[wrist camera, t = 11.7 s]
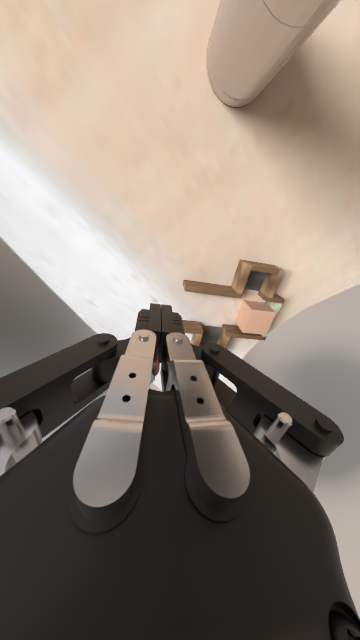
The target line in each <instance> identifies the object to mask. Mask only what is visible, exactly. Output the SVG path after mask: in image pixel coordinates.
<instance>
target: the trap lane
mask: <svg viewBox="0 0 360 640" xmlns="http://www.w3.org/2000/svg"><path fill="white" fill-rule="evenodd" d="M284 271H285V270H283V269H281V268H279V267H277V266H274V265H269V264H263V263H257V262H251V261H245V260H240V261H239V264H238V267H237V270H236V273H235V276H234V280H233V283H232V286H224V285H217V284H210V283H203V282H195V281H188V280H184V281H183V286H184V289H185V291H188V292H196V293H204V294H211V295H219V296H227V297H235V298H241V295H242V293H243V290H244V289H251V290H258V291H259V293H258V295H259V296H260V297H261V298H263V299H264V300H265V301H266V304H268V305H269V306H270V307H271V308H272V309H273V310H274V311H276V312H277V313H276V315H275V317H274V319H273V321H272V323H271V325H270V328H271V326H272V324H273V322H274V320H275V318H276V316H277V314H278V312H279V310H280V308H281V306H282V304H283V302H284V299H283V298H282V297H280V296H279V295H277V294H276V293H275V291H276V288H277V286H278V284H279V282H280V279H281V277H282V275H283V273H284ZM182 323H183V328H184V332H185V333H191V334H193V336H192V340H191V344H193V345H196V346H199V347H202V348H203V346H204V344H206V343H216V344H219V345H221V346H222V347H224V348H225V349H226V348H227V345H228V343H229V340H230V337H235V338H246V339H257V340H265V339H266V337H267V334H268V332H269V330H270V328H269V330H268V332H267V334H266V335H264V334H253V333H243V332H242V331H241V330H240V328H239V327H238V326H235V325H225V324H223V325H222V328H221V327H211V326H201V323H200V322H196V321H186V320H182Z"/></svg>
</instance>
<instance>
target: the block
mask: <svg viewBox="0 0 360 640" xmlns="http://www.w3.org/2000/svg"><path fill="white" fill-rule="evenodd" d="M276 313H277V312H276V311H274V310H273V309H272V308H271V307H270V306H269V305H268V304H266V303H262V302H254V301H246V300H243V302H242V304H241V307H240V310H239V313H238V315H237V318H236V321H235V322H236V324H237V325H238V327H239V328H240V330H241V331H242V332H243V333H253V334H264V335H266V334H267V332H268V330H269V328H270V325H271V323H272V321H273V319H274V317H275V315H276Z"/></svg>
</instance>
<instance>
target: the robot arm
mask: <svg viewBox="0 0 360 640" xmlns="http://www.w3.org/2000/svg"><path fill="white" fill-rule="evenodd" d="M340 1H341V0H221V2H220V5H219V8H218V12H217V15H216V18H215V22H214V25H213V29H212V32H211V36H210V39H209V45H208V51H207V67H208V75H209V79H210V83H211V85H212V88H213V90H214V92H215V94H216V95H217V96H218V98H219V99H220V100H221V101H222V102H223V103H225V104H227V105H229V106H232V107H241V106H244V105H247V104H249V103H250V102H251V101H253V100H254V99H255V98H256V97H257V96H258V95H259V94H260V92H261V91H262V90H263V89H264V88H265V87H266V86H267V85H268V83H269V82H270V81H271V80H272V79H273V78H274V77H275V76H276V74H277V73H278V72H279V71H280V70H281V69H282V68H283V66H284V65H285V64H286V63H287V62H288V61H289V59H290V58H291V57H292V56H293V55H294V54H295V53H296V51H297V50H298V49H299V48H300V47H301V46H302V45H303V43H304V42H305V41H306V40H307V39H308V38H309V36H310V35H311V34H312V33H313V32H314V31H315V30H316V28H317V27H318V26H319V25H320V24H321V23H322V22H323V20H324V19H325V18H326V17H327V16H328V15H329V13H330V12H331V11H332V10H333V9H334V8H335V7H336V5H337V4H338V3H339V2H340ZM157 355H158V363H161V372H160V374H161V383H162V392H160V391H156V390H152V389H149V387H150V381H151V374H152V369H153V367H154V362H157ZM90 368H91V370H90V371H88V372H87V373H85V374H83V375H82V376H80V377H78V378H77V379H75V377H77V376H78V375H80V374H82V373H83V372H85V371H87V370H88V369H90ZM219 374H222V375H223V376H224V377H226V378H227V379H228V380H229V381H231V382H232V383H233V384H234V385H235V386H236V388H237V393H236V392H235V391H233V390H232V389H231V388H230V387H228V386H227V385H226V384H225V383H223V382H222V381H221V380H220V379H219V378H218V377H219ZM74 379H75V380H74ZM73 380H74V381H73ZM108 388H109V389H108ZM107 389H108V391H107V394H106V395H105V396H103V397H101V398H99V399H97V400H95V401H94V402H92V403H91V404H89V405H88V406H87V407H86V408H85V409H83V410H82V411H81V412H79V413H78V414H77V415H76V416H74V417H73V418H72V419H71V420H70V421H68V422H67V423H66V424H65V425H63V426H62V427H61V428H59V429H58V430H57V431H56V432H55V433H53V434H52V435H51V436H50V437H48V438H47V439H46V440H45V441H43V442H42V438H43V437H44V436H46V435H47V434H48V433H50V432H51V431H52V430H54V429H55V428H56V427H58V426H59V425H60V424H62V423H63V422H64V421H66V420H67V419H68V418H70V417H71V416H72V415H74V414H75V413H76V412H78V411H79V410H80V409H82V408H83V407H84V406H86V405H87V404H88V403H90V402H91V401H92V400H94V399H95V398H96V397H98V396H99V395H100V394H102V393H103V392H104V391H106V390H107ZM343 441H344V437H343V434H342V432H341V430H340V429H339V427H338V426H337V425H336V424H335V423H334V422H333V421H332V420H331V419H330V418H328V417H327V416H325V415H324V414H322V413H321V412H319V411H318V410H316V409H315V408H313V407H312V406H310V405H309V404H308V403H306V402H305V401H303V400H302V399H300V398H299V397H297V396H296V395H294V394H293V393H291V392H290V391H288V390H286V389H285V388H284V387H282V386H281V385H279V384H278V383H276V382H275V381H273V380H272V379H270V378H269V377H267V376H266V375H264V374H263V373H261V372H260V371H258V370H257V369H255V368H254V367H252V366H251V365H249V364H248V363H246V362H245V361H243V360H242V359H240V358H239V357H237V356H236V355H234V354H233V353H231V352H230V351H228V350H227V349H225V348H224V347H222V346H221V345H219V344H216V343H206V344H204V346H203V348H202V347H199V346H196V345H193V344H191V343H190V340H189V338H188V337H187V336H186V335H185V332H184V328H183V323H182V318H181V316H180V315H179V314H178V313H174V312H172V307H171V306H170V305H161V304H152V303H150V310H146V309H142V310H141V311H140V312H139V313H138V318H137V323H136V328H135V332H133V333H132V336H131V337H130V338H128V339H125V340H119V341H117V339H116V337H115V336H113V335H111V334H106V333H102V334H97V335H94V336H92V337H90V338H87V339H85V340H83V341H81V342H79V343H76V344H74V345H72V346H70V347H68V348H65V349H63V350H61V351H59V352H57V353H54V354H52V355H50V356H48V357H46V358H43V359H41V360H39V361H37V362H35V363H32V364H30V365H28V366H26V367H24V368H22V369H19V370H17V371H15V372H13V373H10V374H8V375H6V376H4V377H2V378H0V640H360V618H359V616H358V614H357V611H356V609H355V606H354V603H353V601H352V598H351V595H350V592H349V589H348V586H347V583H346V580H345V577H344V573H343V569H342V566H341V562H340V557H339V552H338V547H337V542H336V538H335V535H334V532H333V528H332V526H331V523H330V521H329V519H328V517H327V515H326V513H325V511H324V509H323V507H322V505H321V504H320V502H319V501H318V499H317V498H316V496H315V495H314V493H313V491H314V488H315V484H316V481H317V477H318V474H319V470H320V467H321V463H322V461H323V460H324V459H325V458H326V457H327V456H329V455H330V454H331V453H332V452H333V451H334V450H335V449H336V448H337V447H339V445H341V444H342V443H343ZM41 442H42V443H41Z"/></svg>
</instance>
